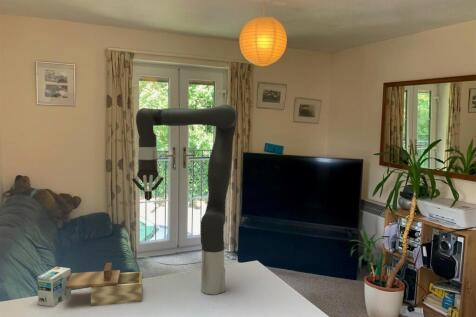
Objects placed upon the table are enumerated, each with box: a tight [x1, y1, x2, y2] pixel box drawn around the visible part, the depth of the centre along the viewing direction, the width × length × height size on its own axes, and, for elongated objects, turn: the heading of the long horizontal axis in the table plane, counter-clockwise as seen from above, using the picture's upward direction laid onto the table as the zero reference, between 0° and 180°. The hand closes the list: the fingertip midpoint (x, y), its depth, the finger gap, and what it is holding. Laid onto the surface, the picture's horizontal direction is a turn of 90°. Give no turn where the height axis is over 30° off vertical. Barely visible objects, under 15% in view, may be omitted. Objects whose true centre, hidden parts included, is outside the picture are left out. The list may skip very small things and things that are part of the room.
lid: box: [65, 262, 121, 290], centre depth 141 cm, size 18×12×5 cm, turn 103°
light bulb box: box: [37, 266, 72, 307], centre depth 141 cm, size 11×7×11 cm, turn 168°
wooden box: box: [90, 271, 143, 307], centre depth 144 cm, size 18×12×7 cm, turn 103°
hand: (148, 200), depth 152 cm, fingers closed
